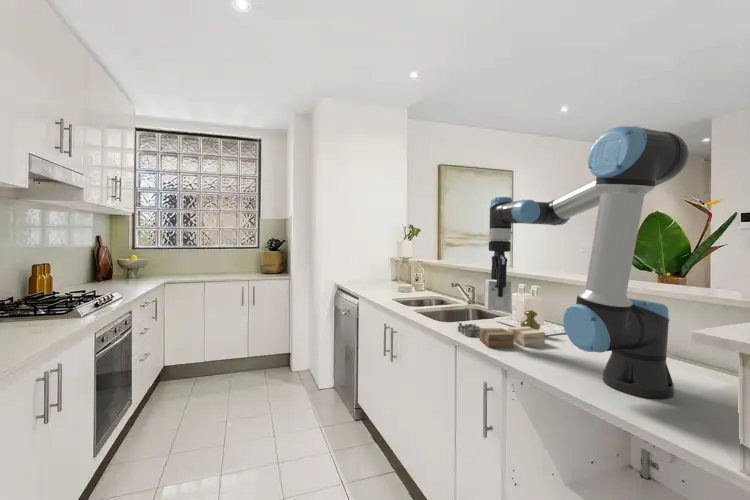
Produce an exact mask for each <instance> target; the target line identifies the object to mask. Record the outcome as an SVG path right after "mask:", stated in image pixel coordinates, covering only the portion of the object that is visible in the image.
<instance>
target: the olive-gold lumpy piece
mask: <svg viewBox="0 0 750 500" xmlns="http://www.w3.org/2000/svg"><path fill="white" fill-rule="evenodd" d="M523 314H524V315H525V316H526V318H525V319H524V321H522V322H520V327H531V328H533V329H536V330H539V331H541V330H540V328H541V324H540V323H539V322H538V321H536V319H535V317H537V316H538V312H537V311H534V310H531V309H528V310H526V311H524V313H523Z"/></svg>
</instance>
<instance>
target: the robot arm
mask: <svg viewBox="0 0 750 500" xmlns="http://www.w3.org/2000/svg"><path fill="white" fill-rule="evenodd" d="M689 153H690V151H689V148H688V145H687V143H686V142H685V141H684V139H683V138H682V137H681V136H679V135H677V134H675V133H673V132H668V131H662V130H661V131H660V130H656V129H649V128H646V127H640V126H636V125H635V126H625V125H622V126H621V125H620V126H616V127H613V128H610V129H609V130H606V131H605V132H603V133H602V134H601V136H600V137H598V138H597V139H596V140H595V141H594V143H592V146H591V148H590V150H589V153H588V156H587V166H588V169H590V172H591V174H592V175H594V177H596V178H594V179H592V180H590V181H589V182H586V183H584V184H582V185H580V186H578V187H577V188H575V189H573V190H571V191H569V192H567V193H565V194H562V195H561V196H559V197H557V198H555V199H553V200H551V201H548V202H546V201H545V202H544V201H535V200H533V199H521V200H515V201H513V198H512V197H510V196H509V197H508V196H499V197H498V196H497V197H495V196H494V197H493V198H491V200H490V205H489V206H490V207H489V227H488V239H489V241H488V251H489V252H494V253H493V256H491V273H490V280H497V286H495V288H496V296H495V306H503V305H504V287H506V280H507V265H508V258H507V257H506V256H505V253H508V252H509V253H510V252H511V249H512V245H511V243H512V242H511V238H512V235H513V231H512V224H528V225H529V224H530V225H548V226H563V225H565V224H567V223H568V221H569V220H570V219H571V217H574V216H576V215H580V214H581V213H584V212H586V211H589V210H592V209H593V208H596V207H598V210H597V216H596V217H597V218H596V221H595V228H594V233H593V241H592V248H591V253H590V259H589V266H588V271H587V278H586V283H585V287H584V288H583V289H582V290H580V291H579V292H577V295H576V301H575V304H572V305H570V306H568V308H566V309H565V311H564V313H563V316H562V327H563V330H564V332H565V335H566V336H567V337H568V339H569V341H570V342H571V343H572V344H573V345H574V346H575V347H576V348H578V349H579V350H582V351H584V352H590V353H605V352H611V354H610V356H609V358H608V360H607V363H606V365H605V367H604V369H603V371H602V381H603V382H604V384H605V385H608V386H609V387H610V388H613V389H615V390H618V391H620V392H622V393H626V394H629V395H633V396H636V397H643V398H648V399H649V398H650V399H661V400H662V399H669V398H673V396H674V395H675V394H674V393H675V385H674V381H673V379H672V376H671V372H670V370H669V368H668V364H667V356H668V337H669V336H668V334H669V322H670V317H669V308H668V306H667V305H666V304H664V303H658V302H653V301H647V300H642V299H635V298H630V297H628V296H627V294H628V293H627V292H628V287H629V281H630V276H631V272H632V271H631V270H632V265H633V259H634V254H635V248H636V244H637V243H636V242H637V238H638V232H639V227H640V223H641V217H642V211H643V206H644V199H645V196H646V194H648V193H650V192H651V191H652V190H654V189H655V187H657V186H659V185H661V184H664V183H666V182H668V181H670V180H672V179H673V178H675V177H676V176H678V175H679V174H680V173H681V172H682V171H683V169H684V168H685V167H686V165H687V163H688V160H689Z"/></svg>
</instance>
